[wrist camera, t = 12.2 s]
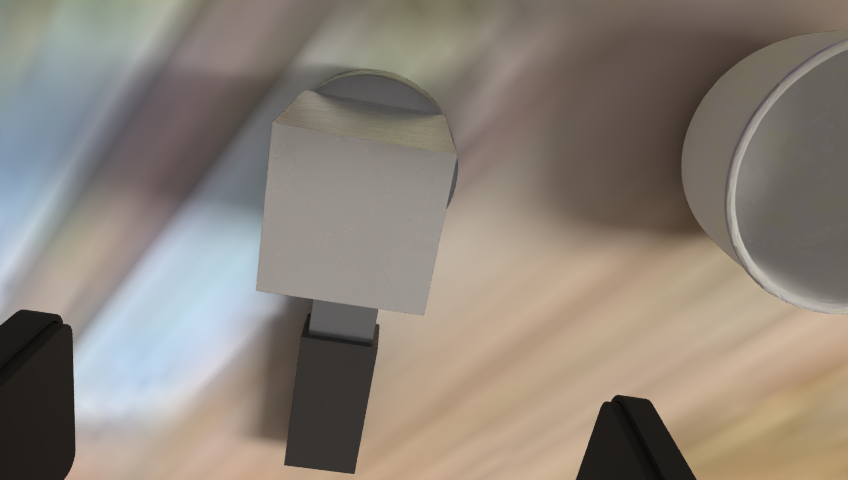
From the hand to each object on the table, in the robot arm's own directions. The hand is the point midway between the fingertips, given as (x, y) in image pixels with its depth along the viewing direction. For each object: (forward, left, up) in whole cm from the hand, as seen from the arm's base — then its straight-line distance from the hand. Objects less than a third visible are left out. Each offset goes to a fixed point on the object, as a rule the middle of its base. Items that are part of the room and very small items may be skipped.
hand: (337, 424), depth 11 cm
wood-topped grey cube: (+1, 0, -18) cm, 18 cm away
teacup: (-19, -5, -21) cm, 29 cm away
